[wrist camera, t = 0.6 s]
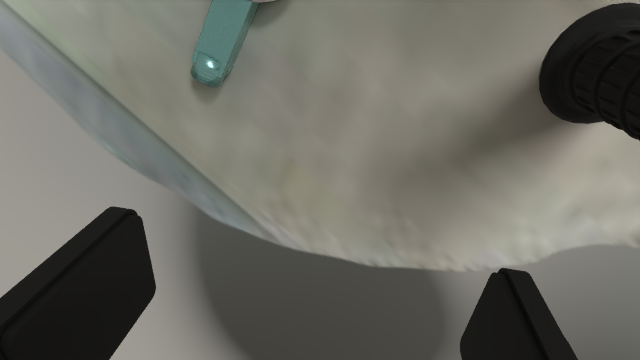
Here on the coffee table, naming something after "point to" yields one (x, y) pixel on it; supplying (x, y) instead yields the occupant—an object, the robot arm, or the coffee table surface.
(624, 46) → the handle grip
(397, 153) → the coffee table surface
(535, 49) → the coffee table surface
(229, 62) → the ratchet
